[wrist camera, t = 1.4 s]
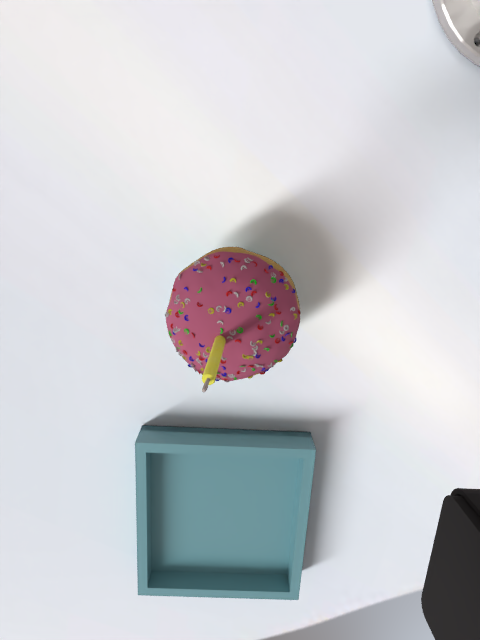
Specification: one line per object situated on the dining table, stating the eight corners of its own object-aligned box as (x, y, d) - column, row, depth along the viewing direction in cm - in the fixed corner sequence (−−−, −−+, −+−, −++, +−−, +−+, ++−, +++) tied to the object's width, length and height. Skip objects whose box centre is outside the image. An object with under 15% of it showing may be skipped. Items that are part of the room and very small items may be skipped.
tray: (310, 432, 33) (315, 449, 31) (294, 574, 37) (298, 599, 35) (142, 425, 33) (135, 442, 30) (144, 569, 37) (137, 595, 34)
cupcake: (241, 375, 32) (245, 471, 20) (152, 309, 30) (101, 373, 19) (314, 290, 30) (363, 343, 18) (223, 216, 29) (215, 223, 17)
